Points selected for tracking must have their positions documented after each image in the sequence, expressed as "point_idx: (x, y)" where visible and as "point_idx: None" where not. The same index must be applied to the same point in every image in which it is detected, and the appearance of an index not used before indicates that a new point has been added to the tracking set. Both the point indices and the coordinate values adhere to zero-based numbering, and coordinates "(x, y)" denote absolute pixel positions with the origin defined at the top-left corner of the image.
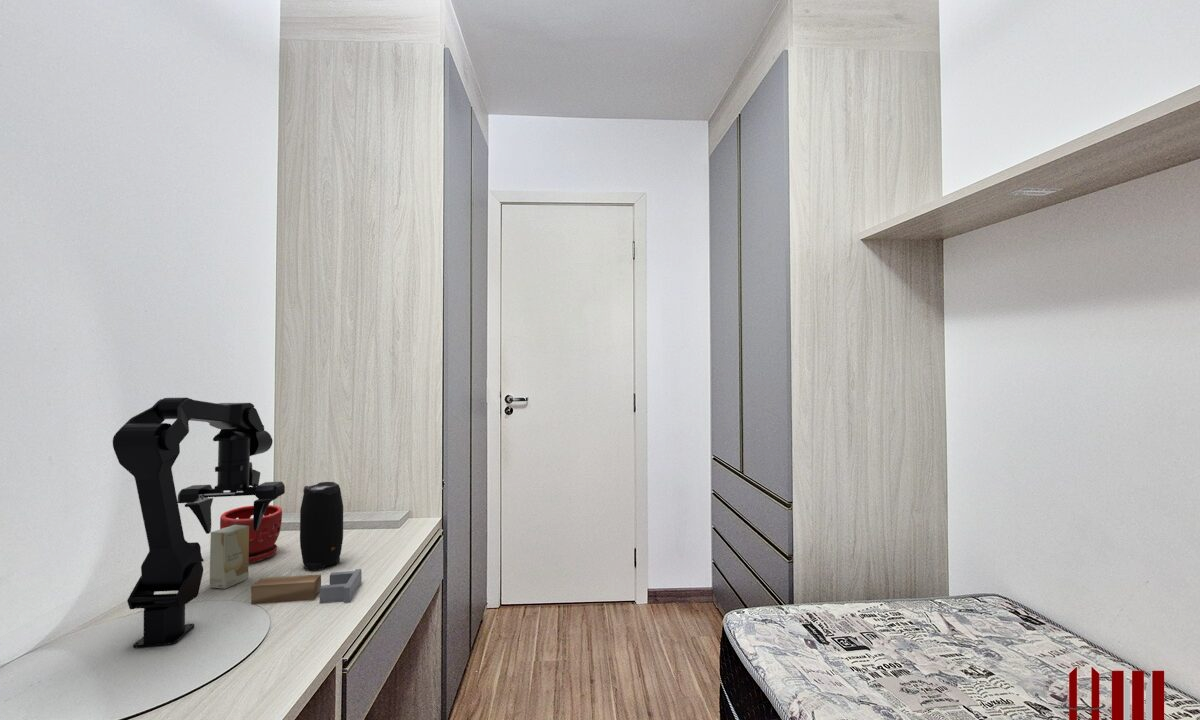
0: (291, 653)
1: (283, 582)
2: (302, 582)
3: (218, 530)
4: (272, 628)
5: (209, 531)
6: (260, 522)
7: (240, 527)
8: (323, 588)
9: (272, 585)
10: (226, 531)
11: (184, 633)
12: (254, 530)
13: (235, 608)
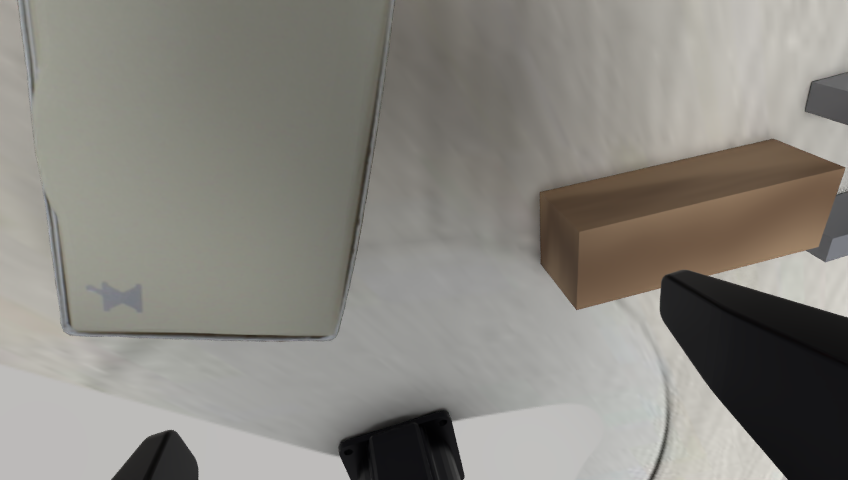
0: (740, 441)
1: (699, 264)
2: (774, 255)
3: (109, 271)
4: (672, 376)
5: (183, 463)
6: (769, 302)
7: (326, 93)
8: (836, 256)
9: (658, 286)
10: (280, 293)
11: (458, 450)
12: (667, 321)
13: (499, 297)
